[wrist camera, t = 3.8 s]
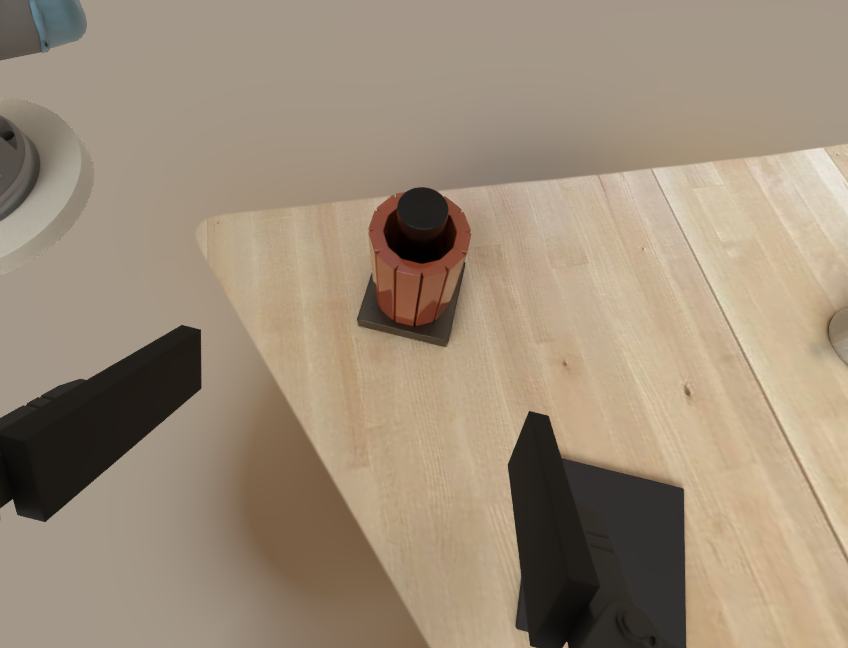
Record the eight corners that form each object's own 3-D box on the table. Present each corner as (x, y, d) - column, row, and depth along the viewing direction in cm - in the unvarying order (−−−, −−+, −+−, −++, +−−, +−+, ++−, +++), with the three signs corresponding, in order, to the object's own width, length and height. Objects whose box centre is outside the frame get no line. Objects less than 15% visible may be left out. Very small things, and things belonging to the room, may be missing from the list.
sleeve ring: (365, 314, 34) (357, 261, 26) (386, 248, 36) (384, 180, 28) (442, 333, 34) (459, 286, 26) (458, 266, 36) (478, 202, 28)
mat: (515, 626, 28) (517, 629, 28) (535, 452, 32) (537, 452, 32) (682, 668, 28) (686, 672, 27) (679, 488, 32) (683, 488, 32)
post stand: (358, 325, 35) (340, 246, 23) (381, 250, 38) (377, 144, 26) (446, 347, 35) (474, 278, 23) (463, 270, 38) (496, 173, 26)
